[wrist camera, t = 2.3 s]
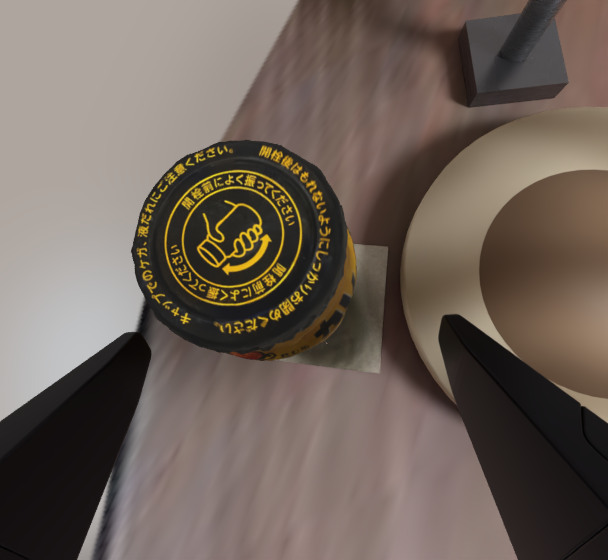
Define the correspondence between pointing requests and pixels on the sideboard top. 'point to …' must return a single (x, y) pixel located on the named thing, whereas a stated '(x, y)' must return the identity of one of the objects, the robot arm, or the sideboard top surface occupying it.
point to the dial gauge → (513, 56)
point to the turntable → (520, 250)
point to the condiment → (260, 260)
